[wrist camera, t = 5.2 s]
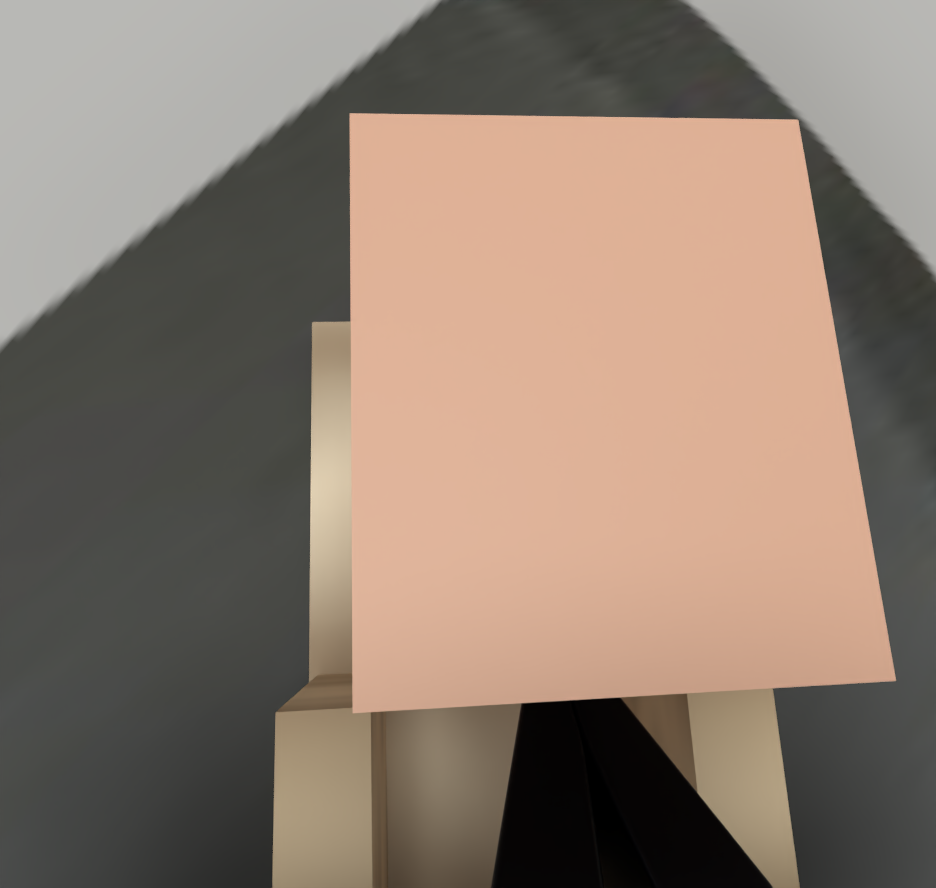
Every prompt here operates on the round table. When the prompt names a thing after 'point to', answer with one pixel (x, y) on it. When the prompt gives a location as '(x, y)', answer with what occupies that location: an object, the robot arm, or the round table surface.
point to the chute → (457, 730)
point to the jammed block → (597, 416)
